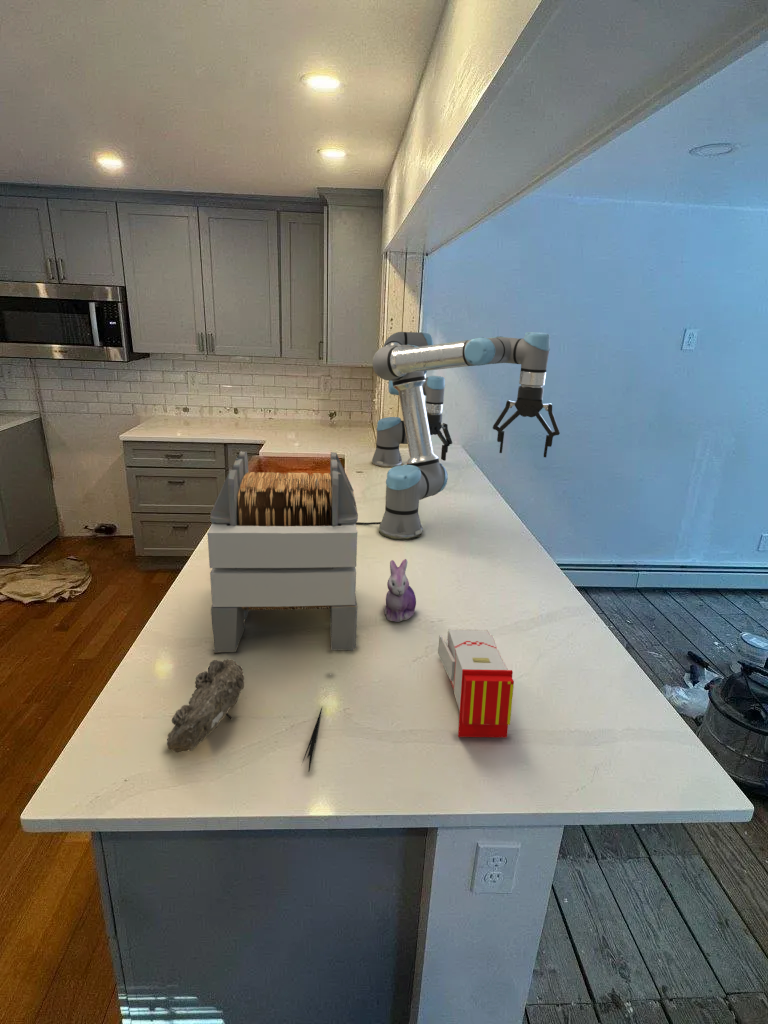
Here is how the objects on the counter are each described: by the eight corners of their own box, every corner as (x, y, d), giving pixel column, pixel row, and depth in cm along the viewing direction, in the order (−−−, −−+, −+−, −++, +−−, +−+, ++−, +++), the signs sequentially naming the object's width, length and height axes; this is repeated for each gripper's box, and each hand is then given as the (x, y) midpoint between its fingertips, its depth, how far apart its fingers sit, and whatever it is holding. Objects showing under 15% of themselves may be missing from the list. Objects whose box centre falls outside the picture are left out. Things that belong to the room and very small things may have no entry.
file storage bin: (232, 584, 158) (225, 442, 144) (349, 583, 162) (353, 444, 148) (211, 655, 127) (198, 480, 113) (357, 651, 130) (362, 482, 117)
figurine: (392, 627, 141) (395, 572, 136) (374, 608, 149) (376, 556, 144) (425, 619, 145) (429, 566, 140) (405, 601, 154) (408, 550, 149)
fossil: (192, 660, 117) (244, 628, 112) (224, 691, 120) (276, 661, 115) (142, 746, 98) (202, 712, 93) (182, 779, 101) (242, 748, 96)
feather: (331, 679, 122) (336, 673, 122) (307, 777, 96) (313, 769, 95) (324, 675, 122) (329, 669, 121) (298, 772, 95) (304, 764, 95)
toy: (488, 613, 130) (523, 677, 101) (484, 667, 133) (517, 744, 104) (435, 612, 130) (455, 676, 101) (432, 666, 133) (451, 743, 103)
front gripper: (573, 387, 172) (563, 455, 179) (490, 381, 178) (483, 447, 185) (575, 390, 165) (564, 461, 173) (488, 384, 171) (481, 453, 178)
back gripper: (412, 416, 235) (409, 465, 242) (462, 413, 246) (458, 460, 253) (404, 412, 241) (401, 461, 249) (453, 410, 252) (449, 456, 259)
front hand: (522, 454), depth 179 cm, fingers open, 13 cm apart
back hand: (430, 461), depth 251 cm, fingers open, 13 cm apart
